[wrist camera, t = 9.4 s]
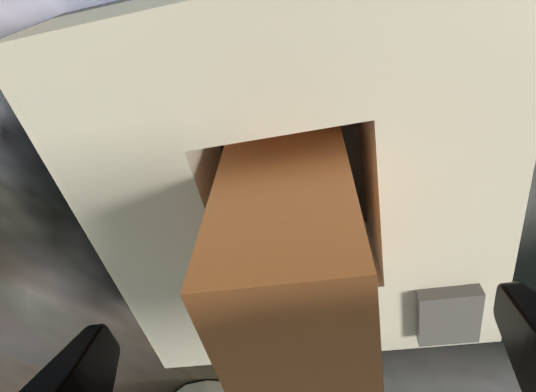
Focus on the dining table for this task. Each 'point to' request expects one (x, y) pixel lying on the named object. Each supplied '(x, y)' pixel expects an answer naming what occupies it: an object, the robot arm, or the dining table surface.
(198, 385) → the white cup
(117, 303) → the dining table surface
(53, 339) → the dining table surface
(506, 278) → the socket plate
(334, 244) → the plug
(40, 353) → the dining table surface
